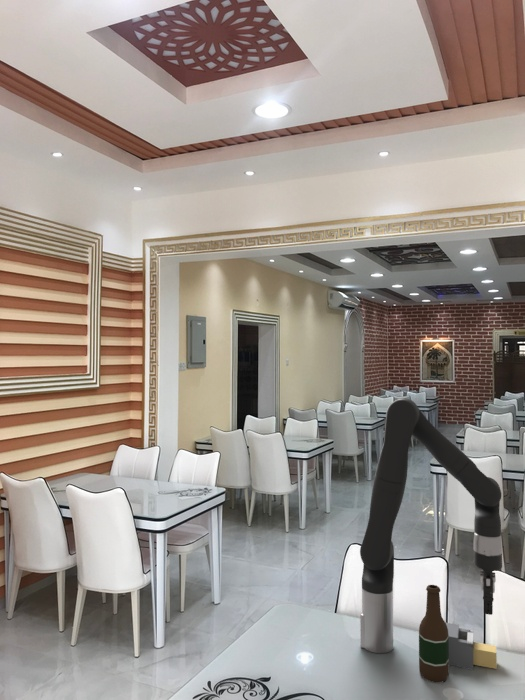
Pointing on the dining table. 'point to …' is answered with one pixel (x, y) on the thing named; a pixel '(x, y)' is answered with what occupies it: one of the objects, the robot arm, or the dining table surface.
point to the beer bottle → (433, 640)
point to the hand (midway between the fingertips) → (488, 607)
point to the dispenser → (460, 646)
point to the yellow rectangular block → (484, 655)
